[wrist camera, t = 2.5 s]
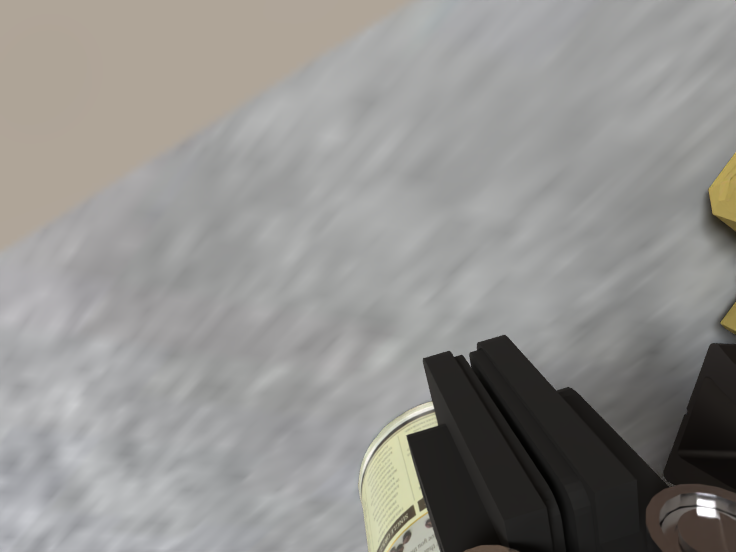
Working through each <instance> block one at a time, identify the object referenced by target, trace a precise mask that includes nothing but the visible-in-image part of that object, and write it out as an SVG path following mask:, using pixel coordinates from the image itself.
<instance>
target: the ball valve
mask: <svg viewBox="0 0 736 552" xmlns="http://www.w3.org/2000/svg"><path fill="white" fill-rule="evenodd" d="M708 190H709V195H710V201H711V207H712V212H713V215H715V216H716V217H717V218H719V219H720V220H721V221H723V222H724V223H725V224H727V225H728V226H729V227H731V228H732V229H733V230H735V231H736V153H735V154H734V155H733V157H732V158H731V159H730V161H729V162H728V163H727V165H726V166H725V167H724V169H723V170H722V172H721V173H720V174H719V176H718V177H717V178H716V180H715V181H714V182H713V184H712V185H711V187H710V188H709V189H708ZM720 324H721V325H722V326H723V327H724V328H726V329H727V330H729V331H730V332H732V333H733V334H735V335H736V302H735V304H734V305H733V306H732V308H731V309H730V310H729V312H728V313H727V314H726V316H725V317H724V319H723V320H722V321H721V323H720Z"/></svg>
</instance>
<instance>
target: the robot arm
mask: <svg viewBox="0 0 736 552" xmlns="http://www.w3.org/2000/svg"><path fill="white" fill-rule="evenodd" d="M469 357H470V363H471V367H470V365H469V364H468V362H467V361H466V359H465V358H464V356H463V355H460V356H456V357H454V356H453V354H452V353H451V352H450V351H447V352H443V353H440V354H437V355H433V356H430V357H426V358H423V364H424V369H425V373H426V377H427V381H428V385H429V389H430V394H431V398H432V402H433V406H434V410H435V415H436V419H437V423H438V426H435V427H432V428H428V429H425V430H422V431H418V432H415V433H412V434H408V435H406V437H407V441H408V445H409V449H410V452H411V456H412V460H413V463H414V467H415V471H416V474H417V478H418V481H419V485H420V488H421V492H422V495H423V498H424V502H425V505H426V508H427V511H428V515H429V518H430V521H431V524H432V527H433V531H434V534H435V537H436V540H437V543H438V546H439V550H440V552H736V493H733V492H730V491H728V490H725V489H722V488H719V487H714V486H708V485H702V484H679V485H676V486H672V487H669V486H668V485H667V484H666V483H665V482H664V481H663V480H662V479H661V478H660V477H659V476H658V475H657V474H656V473H655V472H654V471H653V470H652V469H651V468H650V467H649V466H648V465H647V464H646V463H645V462H644V461H643V460H642V459H641V458H640V457H639V456H638V454H637V453H636V452H635V451H634V450H633V449H632V448H631V447H630V446H629V445H628V444H627V443H626V442H625V441H624V440H623V439H622V438H621V437H620V436H619V435H618V434H617V433H616V432H615V431H614V430H613V429H612V428H611V427H610V426H609V425H608V424H607V423H606V422H605V421H604V419H603V418H602V417H601V416H600V415H599V414H598V413H597V412H596V411H595V410H594V409H593V408H592V407H591V406H590V405H589V404H588V403H587V402H586V401H585V400H584V399H583V398H582V397H581V396H580V395H579V394H578V393H577V392H576V391H575V390H573V389H572V388H569V387H567V388H563V389H560V390H557V391H556V390H555V389H554V388H553V387H552V386H551V384H550V383H549V382H548V381H547V380H546V379H545V378H544V377H543V376H542V374H541V373H540V372H539V371H538V370H537V369H536V368H535V367H534V366H533V364H532V363H531V362H530V361H529V360H528V359H527V358H526V357H525V356H524V355H523V353H522V352H521V351H520V350H519V349H518V348H517V347H516V346H515V345H514V343H513V342H512V341H511V340H510V339H509V338H508V337H507V336H506V335H502V336H499V337H495V338H492V339H488V340H485V341H481V342H478V343H477V351H473V352H470V354H469Z"/></svg>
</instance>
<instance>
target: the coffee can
mask: <svg viewBox="0 0 736 552" xmlns="http://www.w3.org/2000/svg"><path fill="white" fill-rule="evenodd" d="M435 426H438V423H437V419H436V415H435V410H434V406H433V402H432V401H431V402H428V403H424V404H422V405H419V406H417V407H415V408H413V409H411V410H409V411H407V412H405V413H403V414H402V415H400V416H399V417H397V418H396V419H394V420H393V421H392V422H390V423H389V424H388V425H387V426H386V427H385V428H384V429H383V430H382V431H381V432H380V433H379V435H378V436H377V437H376V438H375V439H374V440H373V442H372V443H371V445H370V446H369V448H368V450H367V452H366V454H365V456H364V459H363V462H362V465H361V469H360V474H359V483H358V487H359V493H360V500H361V503H362V506H363V512H364V520H365V528H366V536H367V544H368V552H440V550H439V546H438V543H437V540H436V537H435V534H434V531H433V527H432V524H431V521H430V518H429V515H428V511H427V508H426V505H425V502H424V498H423V495H422V492H421V488H420V485H419V481H418V478H417V474H416V471H415V467H414V463H413V460H412V456H411V452H410V449H409V445H408V441H407V437H406V435H408V434H412V433H415V432H418V431H422V430H425V429H428V428H432V427H435Z"/></svg>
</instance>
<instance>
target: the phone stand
mask: <svg viewBox="0 0 736 552" xmlns="http://www.w3.org/2000/svg"><path fill="white" fill-rule="evenodd" d="M687 410H688V414H687V415H684V417H683V420H682V423H681V426H680V428H679V431H678V434H677V437H676V439H675V442H674V445H673V448H672V450H671V453H670V456H669V459H668V461H667V464H666V467H665V470H664V477H665V479H666V480H667V481H668V482H670V483H672V484H674V485H679V484H702V485H708V486H714V487H719V488H722V489H725V490H728V491H730V492H733V493H736V344H718V343H713V344H711V345H710V346H709V348H708V351H707V354H706V357H705V360H704V362H703V365H702V368H701V371H700V373H699V376H698V379H697V382H696V384H695V387H694V390H693V393H692V395H691V398H690V401H689V404H688V406H687Z"/></svg>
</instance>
